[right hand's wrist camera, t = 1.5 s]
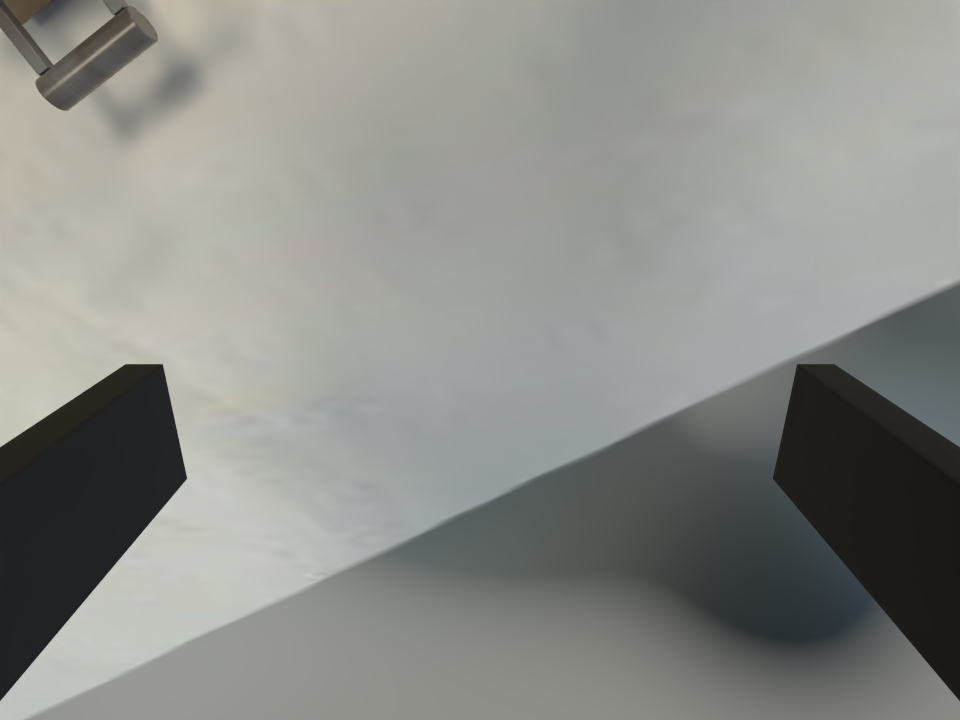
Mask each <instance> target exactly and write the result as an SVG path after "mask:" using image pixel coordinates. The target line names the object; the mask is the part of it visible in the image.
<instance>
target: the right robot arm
mask: <svg viewBox="0 0 960 720" xmlns="http://www.w3.org/2000/svg"><path fill="white" fill-rule="evenodd" d="M186 479H187V476H186V471H185V467H184V462H183V457H182V453H181V448H180V443H179V439H178V434H177V429H176V424H175V420H174V415H173V410H172V406H171V401H170V396H169V392H168V387H167V382H166V377H165V373H164V368H163V364H125V365H124V366H122V367H121V368H119V369H118V370H116V371H115V372H113V373H112V374H110V375H109V376H107V377H106V378H104V379H103V380H101V381H100V382H98V383H97V384H95V385H94V386H92V387H91V388H89V389H88V390H86V391H85V392H83V393H82V394H80V395H79V396H77V397H76V398H74V399H73V400H71V401H70V402H68V403H67V404H65V405H64V406H62V407H60V408H59V409H57V410H56V411H54V412H53V413H51V414H50V415H48V416H47V417H45V418H44V419H42V420H41V421H39V422H38V423H36V424H35V425H33V426H32V427H30V428H29V429H27V430H26V431H24V432H23V433H21V434H20V435H18V436H17V437H15V438H14V439H12V440H11V441H9V442H8V443H6V444H5V445H3V446H2V447H0V701H1V699H2V698H3V697H4V696H5V695H6V693H7V692H8V691H9V690H10V689H11V688H12V686H13V685H14V684H15V683H16V682H17V680H18V679H19V678H20V677H21V676H22V674H23V673H24V672H25V671H26V670H27V668H28V667H29V666H30V665H31V664H32V663H33V661H34V660H35V659H36V658H37V657H38V655H39V654H40V653H41V652H42V651H43V649H44V648H45V647H46V646H47V645H48V643H49V642H50V641H51V640H52V639H53V638H54V636H55V635H56V634H57V633H58V632H59V630H60V629H61V628H62V627H63V626H64V624H65V623H66V622H67V621H68V620H69V618H70V617H71V616H72V615H73V614H74V613H75V611H76V610H77V609H78V608H79V607H80V605H81V604H82V603H83V602H84V601H85V599H86V598H87V597H88V596H89V595H90V593H91V592H92V591H93V590H94V589H95V588H96V586H97V585H98V584H99V583H100V582H101V580H102V579H103V578H104V577H105V576H106V574H107V573H108V572H109V571H110V570H111V569H112V567H113V566H114V565H115V564H116V563H117V561H118V560H119V559H120V558H121V557H122V555H123V554H124V553H125V552H126V551H127V549H128V548H129V547H130V546H131V545H132V544H133V542H134V541H135V540H136V539H137V538H138V536H139V535H140V534H141V533H142V532H143V530H144V529H145V528H146V527H147V526H148V524H149V523H150V522H151V521H152V520H153V519H154V517H155V516H156V515H157V514H158V513H159V511H160V510H161V509H162V508H163V507H164V505H165V504H166V503H167V502H168V501H169V499H170V498H171V497H172V496H173V495H174V494H175V492H176V491H177V490H178V489H179V488H180V486H181V485H182V484H183V483H184V482H185V480H186ZM773 479H774V480H775V482H776V483H777V484H778V485H779V486H780V488H781V489H782V490H783V491H784V492H785V494H786V495H787V496H788V497H789V498H790V499H791V501H792V502H793V503H794V504H795V505H796V507H797V508H798V509H799V510H800V511H801V513H802V514H803V515H804V516H805V517H806V518H807V520H808V521H809V522H810V523H811V524H812V526H813V527H814V528H815V529H816V530H817V532H818V533H819V534H820V535H821V536H822V538H823V539H824V540H825V541H826V542H827V543H828V545H829V546H830V547H831V548H832V549H833V551H834V552H835V553H836V554H837V555H838V557H839V558H840V559H841V560H842V561H843V563H844V564H845V565H846V566H847V567H848V568H849V570H850V571H851V572H852V573H853V574H854V576H855V577H856V578H857V579H858V580H859V582H860V583H861V584H862V585H863V586H864V588H865V589H866V590H867V591H868V592H869V593H870V595H871V596H872V597H873V598H874V599H875V601H876V602H877V603H878V604H879V605H880V607H881V608H882V609H883V610H884V611H885V613H886V614H887V615H888V616H889V617H890V618H891V620H892V621H893V622H894V623H895V624H896V626H897V627H898V628H899V629H900V630H901V632H902V633H903V634H904V635H905V636H906V638H907V639H908V640H909V641H910V642H911V643H912V645H913V646H914V647H915V648H916V649H917V651H918V652H919V653H920V654H921V655H922V657H923V658H924V659H925V660H926V661H927V662H928V664H929V665H930V666H931V667H932V668H933V670H934V671H935V672H936V673H937V674H938V676H939V677H940V678H941V679H942V680H943V682H944V683H945V684H946V685H947V686H948V688H949V689H950V690H951V691H952V692H953V693H954V695H955V696H956V697H957V698H958V699H959V701H960V447H958V446H957V445H955V444H954V443H952V442H951V441H949V440H948V439H946V438H945V437H943V436H942V435H940V434H939V433H937V432H936V431H934V430H933V429H931V428H930V427H928V426H927V425H925V424H924V423H922V422H921V421H919V420H918V419H916V418H915V417H913V416H912V415H910V414H909V413H907V412H906V411H904V410H902V409H901V408H899V407H898V406H896V405H895V404H893V403H892V402H890V401H889V400H887V399H886V398H884V397H883V396H881V395H880V394H878V393H877V392H875V391H874V390H872V389H871V388H869V387H868V386H866V385H865V384H863V383H862V382H860V381H859V380H857V379H856V378H854V377H853V376H851V375H850V374H848V373H847V372H845V371H844V370H842V369H841V368H839V367H838V366H836V365H834V364H798V365H797V368H796V373H795V377H794V382H793V387H792V392H791V396H790V401H789V406H788V410H787V415H786V420H785V424H784V429H783V434H782V438H781V443H780V448H779V453H778V457H777V462H776V467H775V471H774V476H773Z"/></svg>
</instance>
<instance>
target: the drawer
mask: <svg viewBox="0 0 960 720" xmlns="http://www.w3.org/2000/svg"><path fill="white" fill-rule="evenodd" d="M50 1H51V0H0V27H1V29H2V30H3V31H4V33H5V34H6V35H7V36H8V38H9V39H10V40H11V41H12V43H13V44H14V45H15V46H16V48H17V49H18V50H19V51H20V53H21V54H22V55H23V56H24V58H25V59H26V60H27V61H28V63H29V64H30V65H31V66H32V68H33V69H34V70H35V71H36V73H37V74H38V75H41V76H40V77H39V78H38V79H36V87H37V89H38V90H39V92H40V93H41V94H42V96H43V97H44V98H45V99H46V100H47V101H48V102H50V103H51V104H52V105H53V106H55V107H57V108H59V109H61V110H64V111H67V110H69V109H71V108H72V107H73V106H75V105H76V104H77V103H78V102H80V101H81V100H82V99H83V98H85V97H86V96H87V95H89V94H90V93H91V92H92V91H94V90H95V89H96V88H98V87H99V86H100V85H101V84H103V83H104V82H105V81H107V80H108V79H109V78H110V77H112V76H113V75H114V74H116V73H117V72H118V71H119V70H121V69H122V68H123V67H125V66H126V65H127V64H128V63H130V62H131V61H132V60H134V59H135V58H136V57H137V56H139V55H140V54H141V53H142V52H144V51H145V50H146V49H148V48H149V47H150V46H151V45H153V44H154V43H155V42H157V41H158V35H157V33H156V31H155V30H154V28H153V27H152V25H151V24H150V22H149V21H148V20H147V19H146V18H145V17H144V16H143V15H142V14H141V13H140V12H139V11H138V10H136V9H135V8H133V7H131V6H128V5H127V4H126V3H125V1H124V0H103V2H104V3H105V5H106V6H107V7H108V9H109V10H110V11H111V13H112V14H113V15H115V17H113V18H112V19H111V20H110V21H108V22H107V23H106V24H105V25H103V26H102V27H101V28H100V29H98V30H97V31H96V32H95V33H93V34H92V35H91V36H90V37H88V38H87V39H86V40H85V41H83V42H82V43H81V44H80V45H78V46H77V47H76V48H75V49H74V50H72V51H71V52H70V53H69V54H67V55H66V56H65V57H64V58H62V59H61V60H60V61H59V62H57V63H56V64H55V65H53V64H52V63H51V61H50V60H49V59H48V58H47V56H46V55H45V54H44V53H43V51H42V50H41V49H40V47H39V46H38V45H37V44H36V42H35V41H34V40H33V38H32V37H31V36H30V35H29V33H28V32H27V31H26V30H25V28H24V27H23V26H22V25H23V24H24V23H25V22H26V21H28V20H29V19H30V18H31V17H32V16H34V15H35V14H36V13H37V12H38V11H40V10H41V9H42V8H43V7H44V6H45V5H47V4H48V3H49V2H50Z"/></svg>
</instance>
